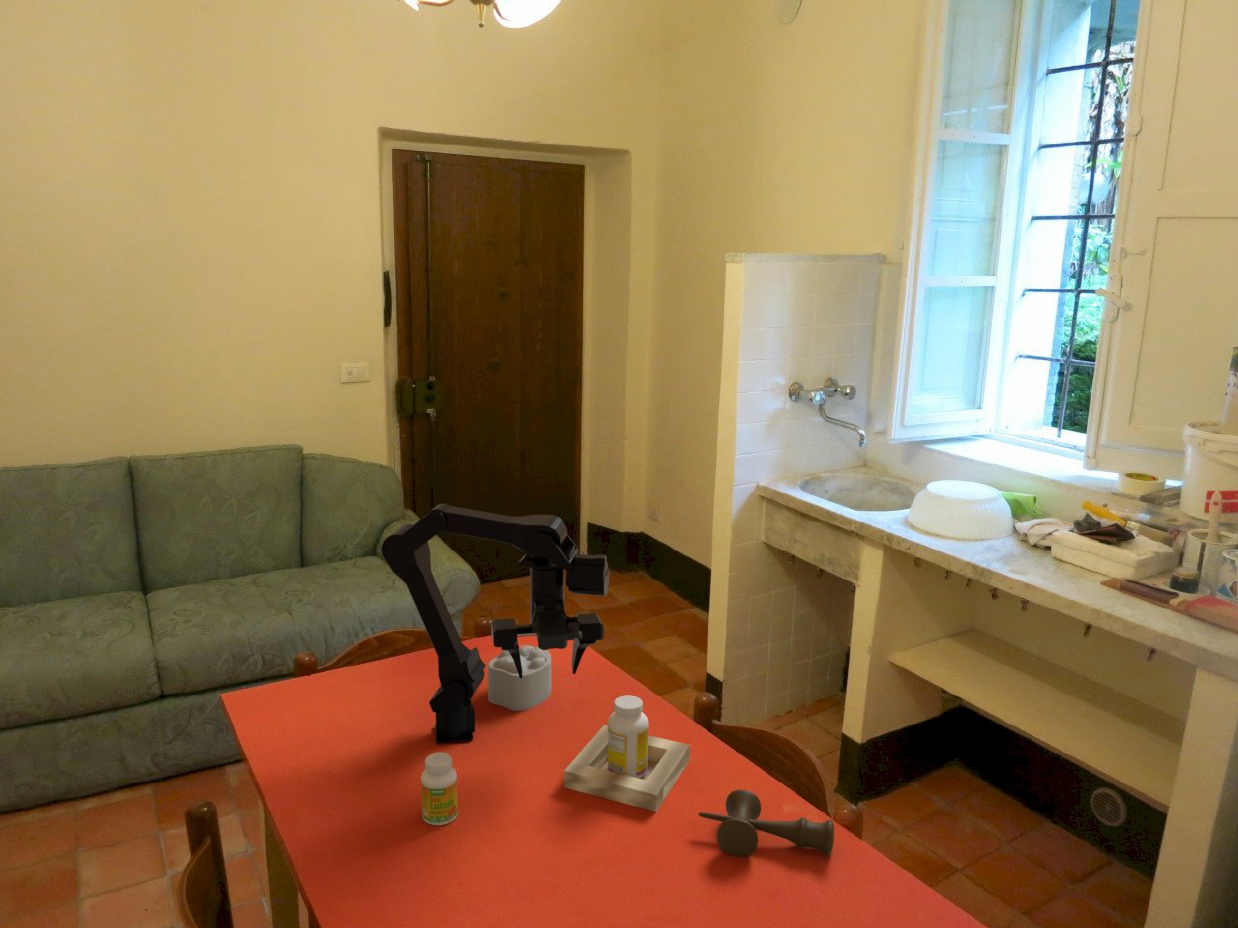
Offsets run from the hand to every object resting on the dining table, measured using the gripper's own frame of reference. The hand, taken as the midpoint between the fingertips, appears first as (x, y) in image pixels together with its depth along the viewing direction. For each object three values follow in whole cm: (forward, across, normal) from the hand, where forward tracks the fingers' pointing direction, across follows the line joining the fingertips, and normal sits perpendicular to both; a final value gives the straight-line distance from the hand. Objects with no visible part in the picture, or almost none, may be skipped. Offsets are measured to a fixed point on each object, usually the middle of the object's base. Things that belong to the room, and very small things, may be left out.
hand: (547, 675), depth 161 cm
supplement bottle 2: (+13, +12, -12) cm, 21 cm away
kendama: (+14, +28, -33) cm, 45 cm away
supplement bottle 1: (+13, -19, -18) cm, 29 cm away
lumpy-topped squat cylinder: (+13, -2, +19) cm, 23 cm away
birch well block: (+13, +12, -12) cm, 21 cm away
